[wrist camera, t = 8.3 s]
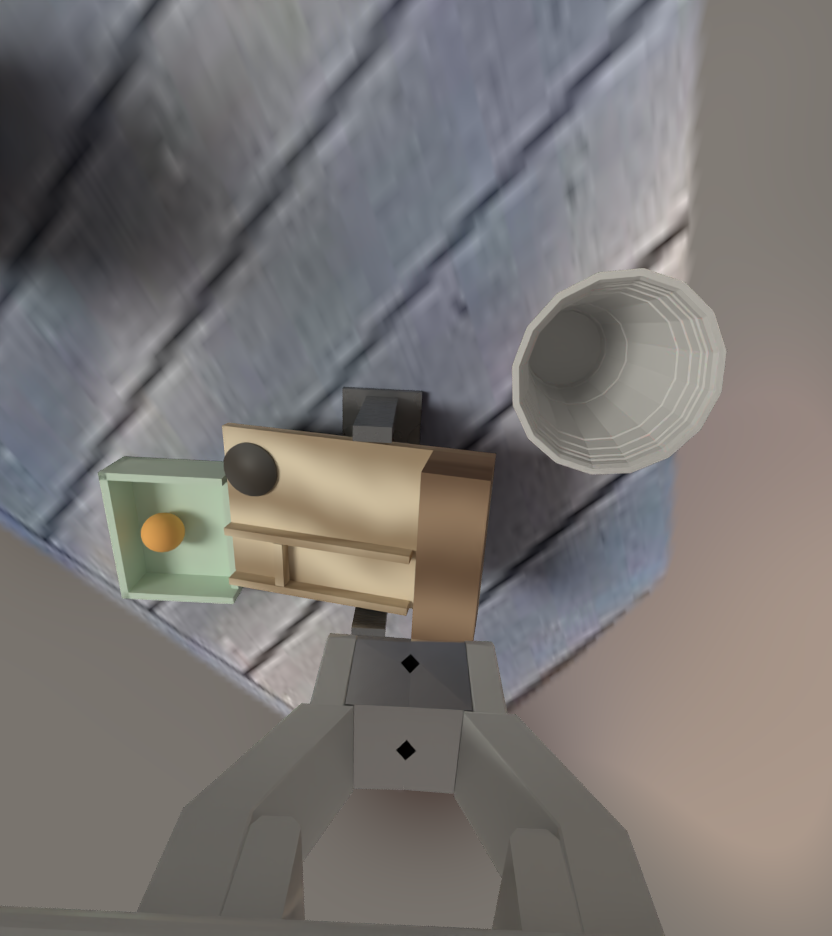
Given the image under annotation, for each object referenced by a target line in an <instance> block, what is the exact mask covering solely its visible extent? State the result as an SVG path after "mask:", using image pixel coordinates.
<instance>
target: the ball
mask: <svg viewBox="0 0 832 936" xmlns="http://www.w3.org/2000/svg"><path fill="white" fill-rule="evenodd" d="M184 536H185V527H184V524H183V522H182V521H181V520H180V518H178V517H177V516H176V515H174V514H171V513H157V514H155V515H153V516H151V517H149V518H148V519H147V520H146V521H145V523H144V524H143V526H142V529H141V538H142V541H143V543H144V544H145V546H146V547H148V548H149V549H151V550H153V551H155V552H168V551H171V550H173V549H175V548H176V547H178V546H179V545H180V544H181V542H182V541H183V539H184Z"/></svg>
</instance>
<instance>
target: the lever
mask: <svg viewBox="0 0 832 936" xmlns="http://www.w3.org/2000/svg"><path fill="white" fill-rule="evenodd" d="M222 429H223V440H224V451H225V458H224V472H225V475H226V477H227V483H228V494H229V505H230V515H231V522H230V523H229V524H228V525H227V526H226V527H224V535H226V536H232V537H233V548H234V558H235V569H236V571H235V572H234V573H233V574H232V575H231V576H230V577H229V584H230V585H236V586H241V587H247V588H252V589H258V590H264V591H269V592H275V593H281V594H286V595H292V596H298V597H303V598H309V599H315V600H320V601H326V602H332V603H337V604H343V605H348V606H354V607H360V608H365V609H371V610H377V611H382V612H388V613H394V614H399V615H405V616H406V615H407V612H408V610H409V608H412V609H413V617H412V634H411V639H425V640H447V641H463V642H464V641H473V640H474V633H475V627H476V620H477V614H478V605H479V597H480V588H481V580H482V571H483V562H484V554H485V545H486V536H487V528H488V519H489V510H490V502H491V493H492V484H493V476H494V467H495V459H496V454H494V453H486V452H477V451H469V450H460V449H451V448H443V447H434V446H425V445H417V444H408V443H400V442H392V443H380V442H361V441H353V437H348V436H339V435H331V434H322V433H313V432H305V431H296V430H287V429H279V428H270V427H262V426H253V425H244V424H236V423H227V424H225V425H223V426H222Z"/></svg>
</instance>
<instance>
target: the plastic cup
mask: <svg viewBox="0 0 832 936" xmlns="http://www.w3.org/2000/svg"><path fill="white" fill-rule="evenodd" d="M726 352H727V350H726V347H725V344H724V341H723V338H722V335H721V332H720V328H719V325H718V322H717V319H716V316H715V313H714V311H713V310H712V309H711V308H710V307H709V306H708V305H707V304H706V303H705V302H704V301H703V300H702V299H701V298H700V297H699V296H698V295H697V294H696V293H695V292H694V291H693V290H692V289H691V288H690V287H689V286H688V285H687V284H686V283H685V282H683V281H680V280H677V279H674V278H671V277H668V276H665V275H662V274H659V273H657V272H654V271H651V270H648V269H645V268H640V269H630V270H619V271H608V272H598V273H596V274H594V275H592V276H590V277H588V278H587V279H585V280H583V281H581V282H579V283H577V284H575V285H573V286H571V287H569V288H567V289H565V290H563V291H561V292H559V293H557V294H556V296H555V297H554V298H553V299H552V300H551V301H550V302H549V303H548V304H547V305H546V307H545V308H544V309H543V310H542V311H541V312H540V313H539V314H538V315H537V316H536V318H535V319H534V320H533V321H532V322H531V323H530V324H529V325H528V326H527V329H526V331H525V334H524V336H523V339H522V342H521V344H520V347H519V349H518V352H517V355H516V357H515V360H514V362H513V365H512V389H513V407H514V409H515V411H516V413H517V415H518V418H519V420H520V422H521V424H522V426H523V428H524V430H525V433H526V435H527V437H528V439H529V440H530V441H531V442H533V443H534V444H535V445H536V446H537V447H538V448H539V449H541V450H542V451H543V452H544V453H545V454H546V455H547V456H549V457H550V458H551V459H552V460H553V461H554V462H555V463H558V464H561V465H564V466H567V467H570V468H573V469H576V470H579V471H582V472H585V473H588V474H591V475H595V474H618V473H632V472H634V471H637V470H639V469H642V468H644V467H647V466H649V465H651V464H654V463H656V462H659V461H661V460H664V459H666V458H669V457H670V456H671V455H672V454H673V453H675V452H676V451H677V450H678V449H679V448H680V447H681V446H682V445H684V444H685V443H686V442H687V441H688V440H689V439H690V438H692V437H693V436H694V435H695V434H696V433H698V432H699V431H700V430H701V428H702V427H703V424H704V423H705V421H706V419H707V418H708V416H709V414H710V412H711V410H712V409H713V407H714V405H715V403H716V401H717V400H718V398H719V396H720V394H721V392H722V385H723V377H724V369H725V360H726Z"/></svg>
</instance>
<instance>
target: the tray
mask: <svg viewBox="0 0 832 936" xmlns="http://www.w3.org/2000/svg"><path fill="white" fill-rule="evenodd" d="M98 476H99V481H100V487H101V492H102V497H103V502H104V507H105V513H106V518H107V523H108V528H109V533H110V538H111V544H112V549H113V554H114V559H115V564H116V569H117V575H118V580H119V585H120V590H121V595H122V598H125V599H145V600H164V601H184V602H203V603H223V604H234V603H235V601H236V599H237V597H238V596H239V594H240V592H241V590H242V589H243V587H241V586H236V585H230V584H229V577H230V576H231V575H232V574H233V573H234V572H235V571H236V569H235V558H234V548H233V537H232V536H226V535H224V527H226V526H227V525H228V524H229V523H230V522H231V515H230V505H229V494H228V483H227V477H226V475H225V472H224V462H221V461H202V460H183V459H164V458H145V457H125V456H124V457H122V458H121V459H119V460H117V461H116V462H114V463H112V464H111V465H109V466H108V467H106V468H104V469H103V470H101V471H99V472H98ZM157 513H171V514H174V515H176V516H177V517H178V518H180V520H181V521H182V522H183V524H184V527H185V536H184V539H183V541H182V542H181V544H180V545H179V546H178V547H176V548H175V549H173V550H171V551H168V552H155V551H153V550H151V549H149V548H148V547H146V546H145V544H144V543H143V541H142V538H141V529H142V526H143V524H144V523H145V521H146V520H147V519H148V518H149V517H151V516H153V515H155V514H157Z"/></svg>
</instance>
